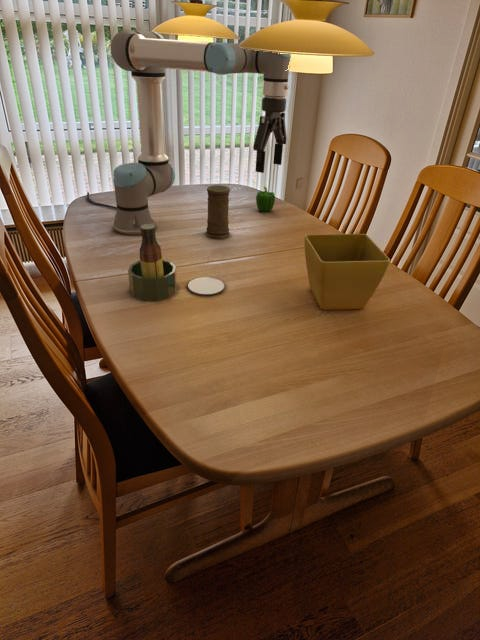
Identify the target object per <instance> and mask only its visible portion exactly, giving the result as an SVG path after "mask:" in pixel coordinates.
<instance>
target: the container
mask: <svg viewBox="0 0 480 640" xmlns="http://www.w3.org/2000/svg"><path fill="white" fill-rule="evenodd" d="M206 191H207V220H206V223H207V224H206V225H207V227H206V231H205V234H206V236H207V237H208V238H209V239H214V240H224V239H228V238H229V237H230V228H229V223H230V222H229V221H230V220H229V209H230V208H229V205H230V203H229V201H230V199H229V196H230V192H231V189H230V187H229V186H226V185H222V184H214V185H209V186H208V187H207V188H206Z"/></svg>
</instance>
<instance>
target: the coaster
mask: <svg viewBox="0 0 480 640" xmlns="http://www.w3.org/2000/svg"><path fill="white" fill-rule="evenodd" d="M187 289H188V291H189V292H190V293H192V294H194V295H197V296H202V297H212V296H217V295H219V294H221V293H223V291H224V290H225V283H224V282H223V281H222V280H220V279H218V278H215V277H210V276H203V277H202V276H201V277H197V278H194V279H192V280H190V281H189V282H188V283H187Z"/></svg>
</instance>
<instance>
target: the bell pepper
mask: <svg viewBox="0 0 480 640" xmlns="http://www.w3.org/2000/svg"><path fill="white" fill-rule="evenodd" d="M263 189H264V191H262V190H259V191H258V192H257V193H256V195H255V196H256V197H255V202H256V208H257V209H258V211H259V212H262V213H265V212H271V211H272V210H273V208H274V205H275V202H276V196H275V192H271V191H270V192H269V191H268V188H267V186H263Z"/></svg>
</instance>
